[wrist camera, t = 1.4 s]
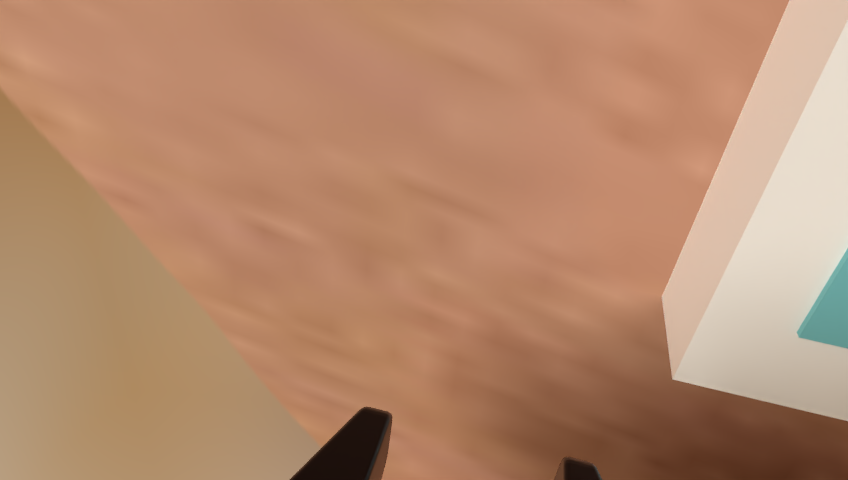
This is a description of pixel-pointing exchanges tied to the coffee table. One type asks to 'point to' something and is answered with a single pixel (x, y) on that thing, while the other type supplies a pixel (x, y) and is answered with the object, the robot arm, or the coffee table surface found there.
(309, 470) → the robot arm
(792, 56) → the carton
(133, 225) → the coffee table surface
